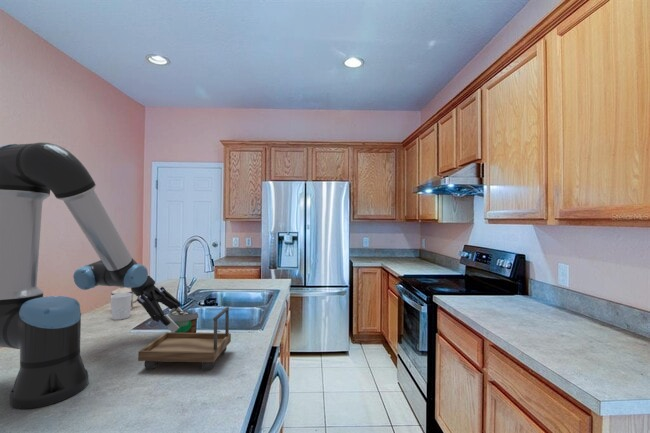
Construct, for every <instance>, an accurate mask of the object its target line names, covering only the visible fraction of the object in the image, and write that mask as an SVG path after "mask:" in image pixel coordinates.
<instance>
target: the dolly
mask: <svg viewBox="0 0 650 433" xmlns="http://www.w3.org/2000/svg"><path fill="white" fill-rule="evenodd" d="M229 309H230V307H229V306H226V307H225V308H223V309H222V310H221V311H220V312H219V313H218V314H217V315H215V317H213V318H212V320H213V332H196V333H171V332H164V333H163V334H161V335H160V336H158V337H157V338H156V339H154V340H153V341H152V342H150V343H149V344H148V345H146V346H145V347H143V348H141V349H140V350H139V351H138V353H137V358H138V360H137V361H138V362H144V363H143V364H144V368H145V369H146V370H148V371H151V370H153V369H155V367H157V365H158V364H159V362H164V363H165V362H166V363H167V362H168V363H169V362H171V363H173V362H175V363H178V362H179V363H201V369H202V370H203V371H205V372H206V371H207V372H208V371H211V370H212V368H213V367H214V366H215V362H216V360H217V359H218V357H219V356H221V355H224V353H225V352H226V351H227V349H228V348H227V347H228V346H229V344H230V343H231V341H232V339H231V338H232V337H231V336H232V334H231V333H230V332H229V331H230V328H229V327H230V325H229V324H230V323H229V321H230V320H229V317H230V316H229V315H230V314H229V312H230V310H229ZM224 314H225V321H224V322H225V325H224V326H225V328H224V330H225V332H218V319H219V318H221V317H222V316H223V315H224Z"/></svg>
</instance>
